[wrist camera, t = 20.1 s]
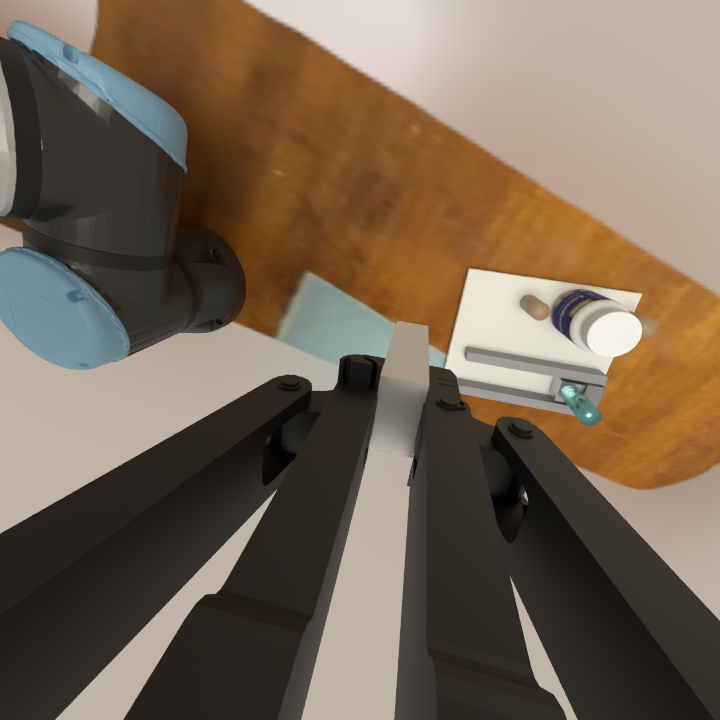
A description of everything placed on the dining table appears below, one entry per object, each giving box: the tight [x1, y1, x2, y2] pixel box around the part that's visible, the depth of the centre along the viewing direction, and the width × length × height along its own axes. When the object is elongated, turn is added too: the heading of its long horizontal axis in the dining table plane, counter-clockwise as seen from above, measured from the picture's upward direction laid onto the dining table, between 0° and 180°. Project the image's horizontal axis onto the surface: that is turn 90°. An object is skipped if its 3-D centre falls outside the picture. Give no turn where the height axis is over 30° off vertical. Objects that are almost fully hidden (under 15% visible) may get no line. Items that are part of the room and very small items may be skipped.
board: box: [444, 268, 658, 416], centre depth 42 cm, size 20×16×6 cm
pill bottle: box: [550, 289, 642, 357], centre depth 37 cm, size 6×6×10 cm
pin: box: [548, 377, 602, 426], centre depth 41 cm, size 3×3×8 cm
